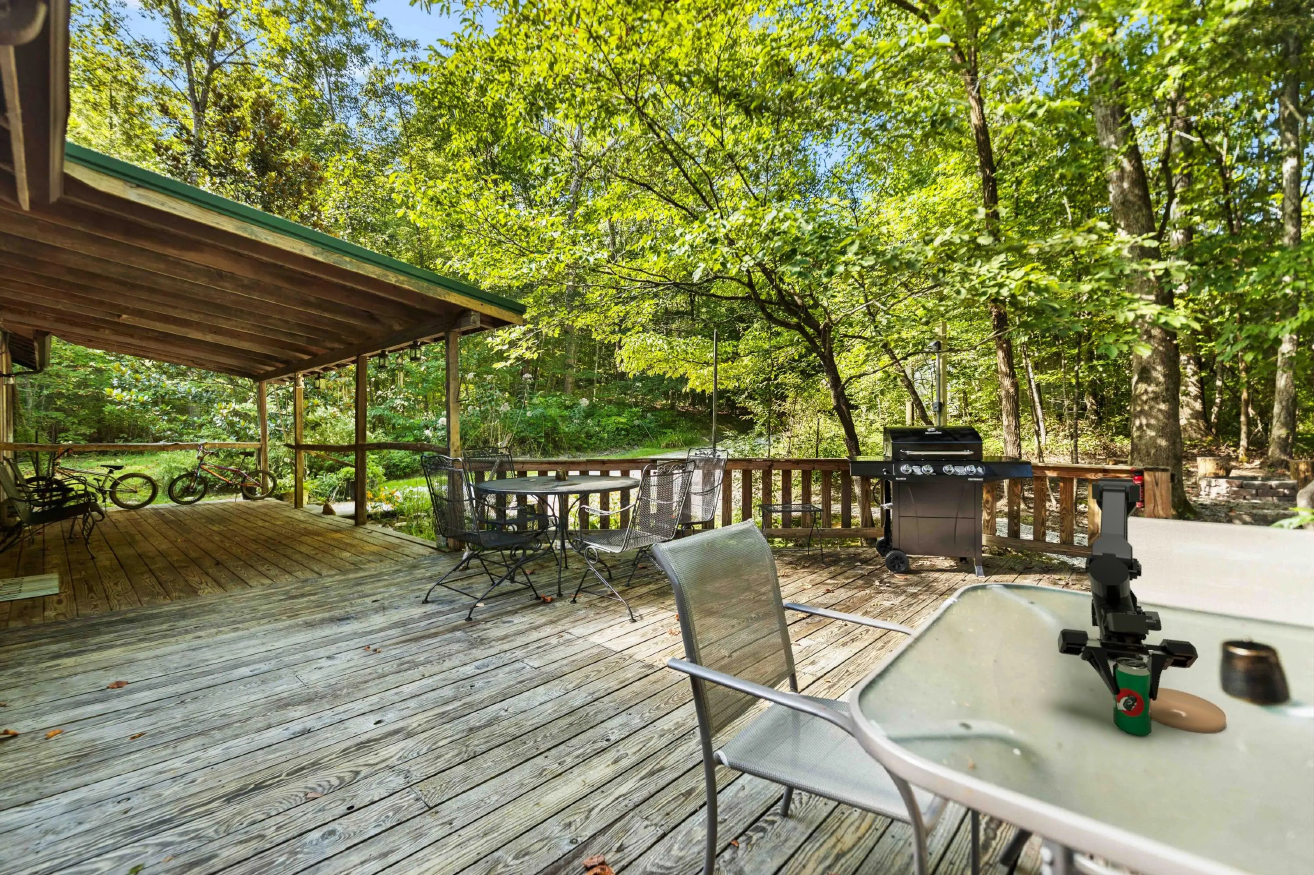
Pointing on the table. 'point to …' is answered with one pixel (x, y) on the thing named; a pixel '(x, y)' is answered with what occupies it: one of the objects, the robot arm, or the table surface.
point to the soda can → (1132, 697)
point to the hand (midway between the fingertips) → (1134, 697)
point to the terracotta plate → (1187, 712)
